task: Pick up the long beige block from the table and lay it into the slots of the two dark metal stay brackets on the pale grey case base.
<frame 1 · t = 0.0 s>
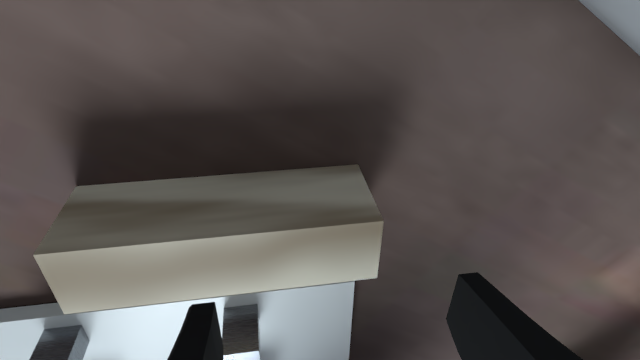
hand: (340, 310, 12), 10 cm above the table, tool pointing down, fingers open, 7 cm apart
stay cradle: (170, 343, 27), on the table
long beige block: (227, 200, 22), on the table
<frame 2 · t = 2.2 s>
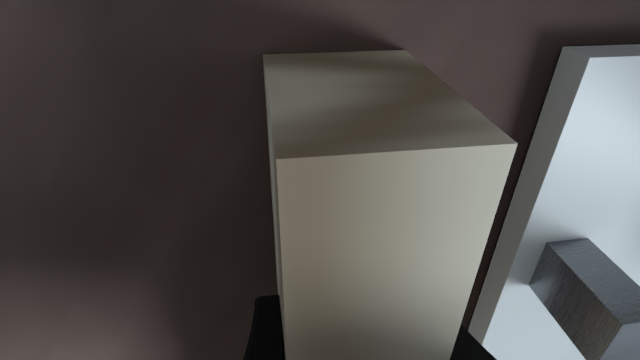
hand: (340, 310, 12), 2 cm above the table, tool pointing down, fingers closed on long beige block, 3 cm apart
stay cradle: (572, 321, 18), on the table
long beige block: (328, 262, 14), on the table, touching gripper
when the fingers open (4 cm above the table, at t = 7.5 s): long beige block stays where it is, resting on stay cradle.
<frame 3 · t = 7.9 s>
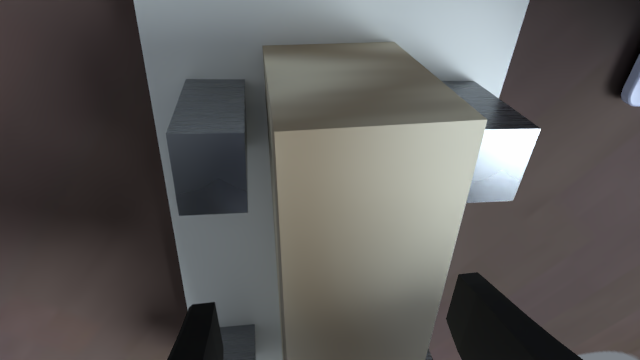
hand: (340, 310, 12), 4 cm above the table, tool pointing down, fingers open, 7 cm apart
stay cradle: (319, 226, 15), on the table
long beige block: (324, 244, 14), point 1 cm above the table, touching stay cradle
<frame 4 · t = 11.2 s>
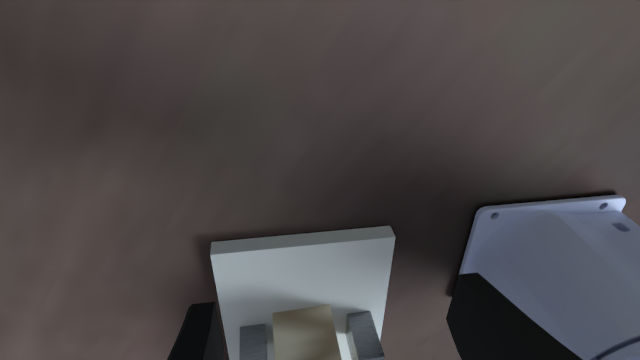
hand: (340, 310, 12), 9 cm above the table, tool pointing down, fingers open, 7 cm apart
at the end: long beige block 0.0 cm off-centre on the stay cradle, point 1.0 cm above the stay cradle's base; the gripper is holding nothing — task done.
